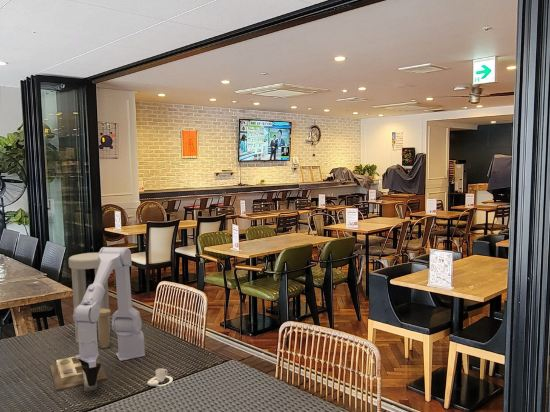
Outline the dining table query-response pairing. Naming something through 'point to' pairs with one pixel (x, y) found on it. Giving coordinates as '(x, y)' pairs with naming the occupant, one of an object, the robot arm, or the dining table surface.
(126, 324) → the robot arm
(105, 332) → the handle
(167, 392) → the dining table surface
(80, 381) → the socket block
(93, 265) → the stool
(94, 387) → the peg
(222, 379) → the dining table surface
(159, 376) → the teacup and saucer
